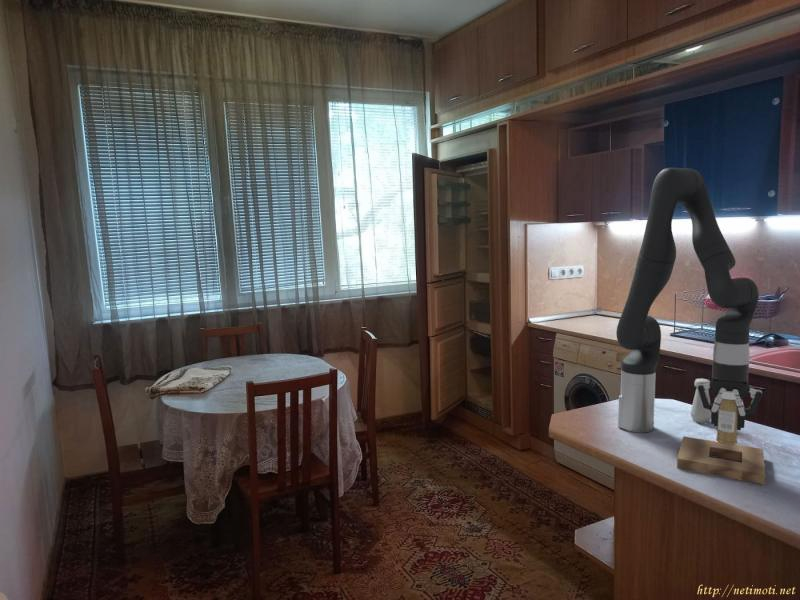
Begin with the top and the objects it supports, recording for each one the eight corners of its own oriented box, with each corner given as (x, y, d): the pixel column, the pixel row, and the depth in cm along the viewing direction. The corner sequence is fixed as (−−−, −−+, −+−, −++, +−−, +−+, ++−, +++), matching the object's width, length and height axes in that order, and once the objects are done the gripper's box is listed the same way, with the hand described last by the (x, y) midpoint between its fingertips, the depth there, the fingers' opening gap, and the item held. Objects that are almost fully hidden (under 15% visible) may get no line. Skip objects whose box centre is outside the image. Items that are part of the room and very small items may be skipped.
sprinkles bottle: (740, 442, 134) (743, 389, 132) (731, 447, 132) (734, 393, 130) (721, 437, 138) (723, 385, 136) (712, 441, 136) (714, 389, 134)
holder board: (676, 467, 134) (677, 458, 134) (683, 445, 148) (683, 436, 147) (764, 484, 125) (765, 474, 124) (762, 458, 138) (763, 449, 138)
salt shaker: (709, 418, 166) (712, 377, 164) (713, 425, 161) (716, 382, 159) (688, 417, 168) (690, 376, 166) (691, 423, 163) (693, 381, 161)
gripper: (696, 360, 133) (693, 427, 135) (766, 366, 125) (762, 437, 127) (698, 353, 139) (695, 418, 141) (765, 359, 132) (761, 427, 134)
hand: (727, 427), depth 134 cm, fingers closed on sprinkles bottle, 4 cm apart
